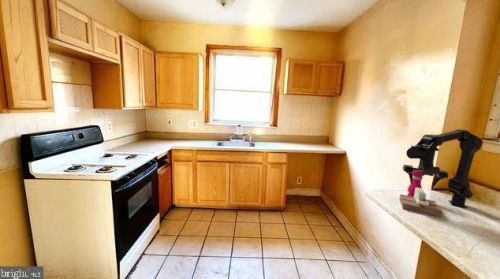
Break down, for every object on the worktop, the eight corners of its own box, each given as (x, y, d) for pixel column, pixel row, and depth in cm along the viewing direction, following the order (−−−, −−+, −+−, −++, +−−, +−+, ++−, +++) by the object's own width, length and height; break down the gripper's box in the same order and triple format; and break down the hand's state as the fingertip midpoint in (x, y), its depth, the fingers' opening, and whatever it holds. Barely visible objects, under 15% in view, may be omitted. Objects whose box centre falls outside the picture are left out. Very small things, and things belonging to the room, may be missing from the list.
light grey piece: (412, 196, 125) (414, 187, 124) (421, 198, 123) (423, 188, 122) (417, 207, 113) (419, 196, 112) (427, 209, 111) (430, 198, 110)
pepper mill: (403, 195, 134) (408, 164, 130) (411, 194, 136) (417, 163, 133) (415, 200, 127) (421, 168, 124) (423, 199, 129) (430, 167, 126)
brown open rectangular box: (399, 199, 129) (401, 187, 127) (433, 205, 121) (436, 193, 120) (402, 209, 116) (405, 196, 115) (440, 217, 109) (443, 203, 108)
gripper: (408, 159, 113) (403, 187, 116) (455, 165, 104) (448, 195, 107) (404, 154, 123) (400, 180, 125) (447, 160, 114) (441, 187, 117)
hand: (421, 185), depth 118 cm, fingers open, 9 cm apart
